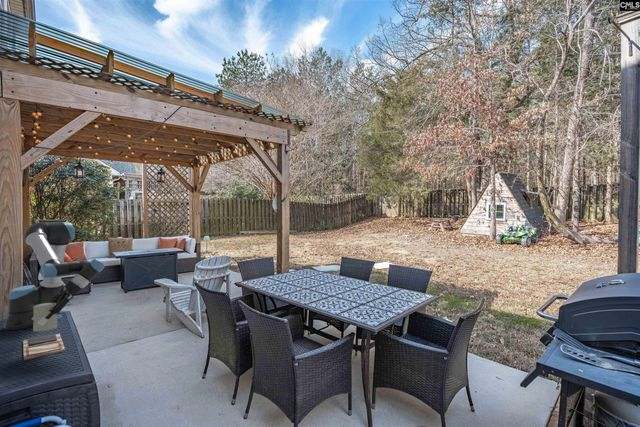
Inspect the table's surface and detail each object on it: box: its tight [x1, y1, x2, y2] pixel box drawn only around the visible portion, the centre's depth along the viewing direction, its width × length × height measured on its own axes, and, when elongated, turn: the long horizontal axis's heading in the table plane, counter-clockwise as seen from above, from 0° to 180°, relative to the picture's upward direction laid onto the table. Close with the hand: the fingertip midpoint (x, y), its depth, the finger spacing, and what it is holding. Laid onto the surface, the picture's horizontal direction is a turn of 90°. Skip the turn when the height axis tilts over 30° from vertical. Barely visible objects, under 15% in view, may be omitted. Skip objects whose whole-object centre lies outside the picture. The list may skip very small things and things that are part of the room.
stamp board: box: [22, 332, 66, 361], centre depth 163 cm, size 28×15×2 cm, turn 44°
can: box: [32, 303, 58, 332], centre depth 158 cm, size 9×9×12 cm
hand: (36, 322), depth 156 cm, fingers closed on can, 9 cm apart
